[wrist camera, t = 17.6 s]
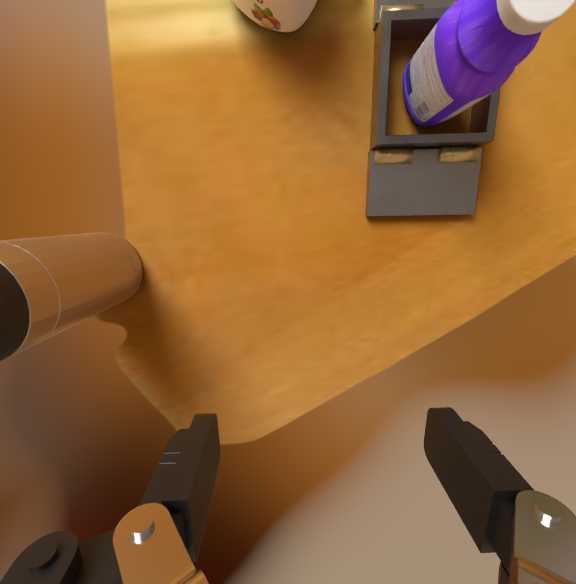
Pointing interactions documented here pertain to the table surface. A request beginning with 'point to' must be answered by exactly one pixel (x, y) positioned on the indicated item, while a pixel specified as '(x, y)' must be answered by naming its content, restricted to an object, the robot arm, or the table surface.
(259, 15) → the spread jar
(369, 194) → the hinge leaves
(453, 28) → the bottle
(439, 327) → the table surface
